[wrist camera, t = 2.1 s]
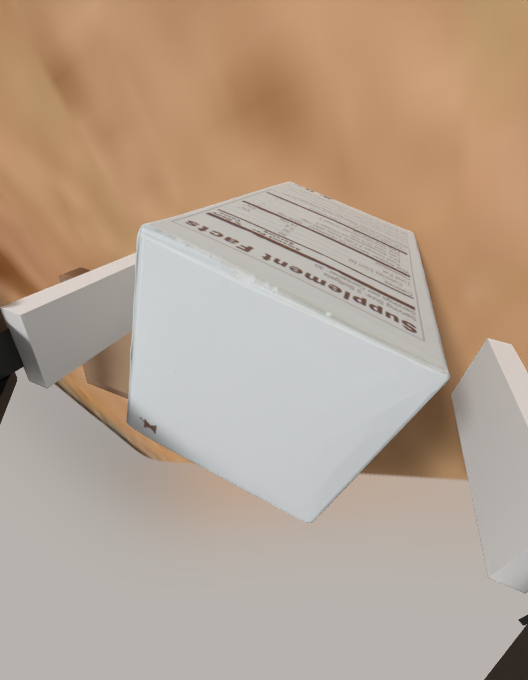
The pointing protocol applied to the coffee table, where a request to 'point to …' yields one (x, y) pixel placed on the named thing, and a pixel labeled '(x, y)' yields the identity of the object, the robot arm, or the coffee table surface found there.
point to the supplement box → (280, 341)
